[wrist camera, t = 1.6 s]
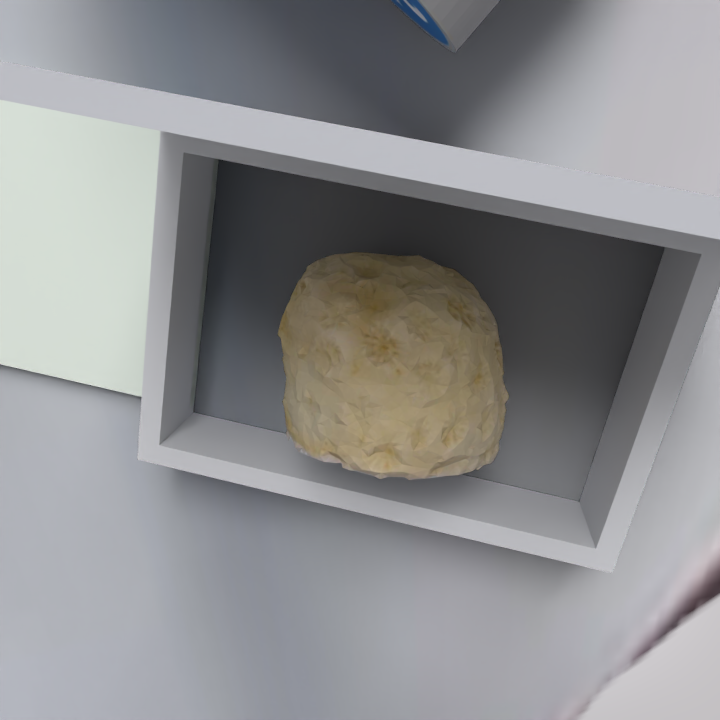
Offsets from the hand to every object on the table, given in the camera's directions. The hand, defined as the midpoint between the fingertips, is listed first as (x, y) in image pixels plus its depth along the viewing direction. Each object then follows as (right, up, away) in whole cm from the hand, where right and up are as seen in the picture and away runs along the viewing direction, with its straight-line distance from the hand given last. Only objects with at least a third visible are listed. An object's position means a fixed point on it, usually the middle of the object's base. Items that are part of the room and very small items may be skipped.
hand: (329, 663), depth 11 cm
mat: (-14, +11, +20) cm, 27 cm away
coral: (+3, +6, +19) cm, 21 cm away
